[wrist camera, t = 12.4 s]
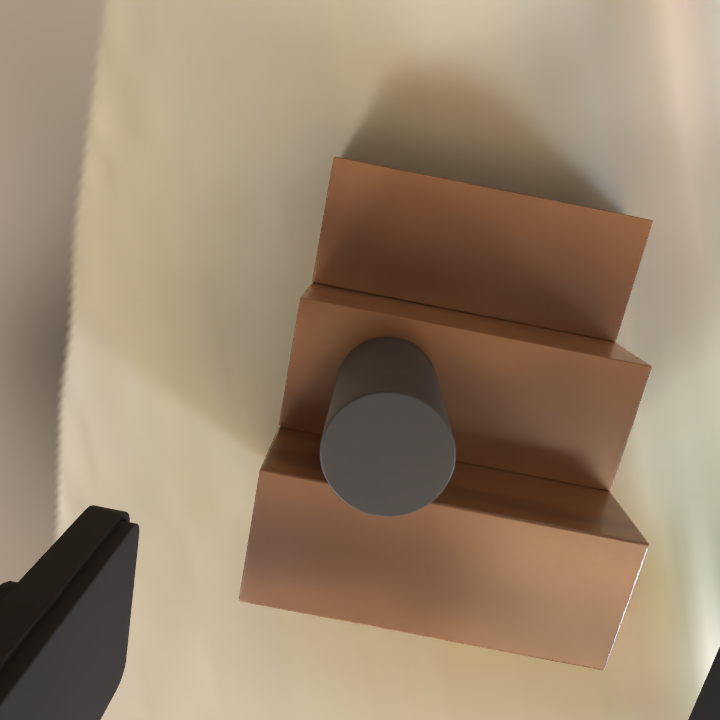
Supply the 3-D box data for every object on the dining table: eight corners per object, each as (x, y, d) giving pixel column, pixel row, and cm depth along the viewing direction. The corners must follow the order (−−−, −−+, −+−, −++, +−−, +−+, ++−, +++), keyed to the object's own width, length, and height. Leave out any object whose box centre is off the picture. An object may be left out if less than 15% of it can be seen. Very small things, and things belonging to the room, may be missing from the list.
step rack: (338, 159, 30) (312, 142, 19) (627, 217, 30) (762, 231, 19) (283, 473, 34) (237, 602, 23) (536, 522, 34) (605, 671, 23)
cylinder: (346, 327, 24) (332, 378, 18) (446, 346, 25) (470, 405, 18) (328, 421, 26) (309, 503, 19) (424, 439, 26) (439, 529, 19)
